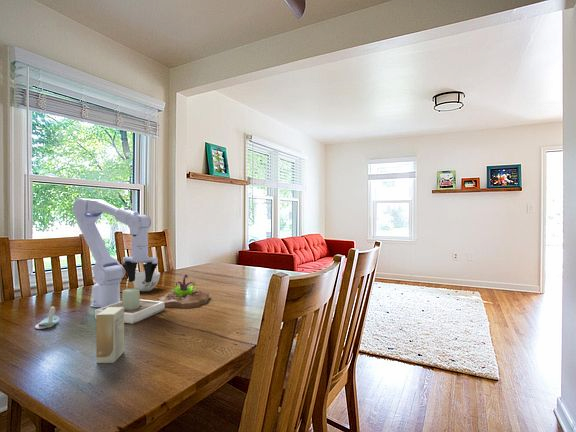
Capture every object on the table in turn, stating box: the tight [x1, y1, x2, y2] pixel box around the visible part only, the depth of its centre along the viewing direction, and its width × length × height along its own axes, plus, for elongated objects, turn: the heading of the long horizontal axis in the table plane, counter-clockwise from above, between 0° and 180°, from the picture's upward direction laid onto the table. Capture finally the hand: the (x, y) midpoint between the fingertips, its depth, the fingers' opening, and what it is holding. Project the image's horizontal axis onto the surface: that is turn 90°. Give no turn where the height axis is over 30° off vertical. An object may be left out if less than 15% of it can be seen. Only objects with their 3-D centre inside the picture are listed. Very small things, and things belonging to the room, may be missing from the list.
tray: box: [94, 298, 165, 324], centre depth 116 cm, size 16×16×3 cm
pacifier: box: [34, 306, 60, 330], centre depth 103 cm, size 7×6×6 cm
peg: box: [121, 287, 141, 310], centre depth 116 cm, size 4×4×8 cm
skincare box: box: [95, 307, 125, 364], centre depth 81 cm, size 6×4×12 cm
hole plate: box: [113, 302, 156, 313], centre depth 116 cm, size 14×14×2 cm
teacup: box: [132, 270, 161, 292], centre depth 153 cm, size 15×12×8 cm
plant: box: [156, 274, 210, 309], centre depth 134 cm, size 20×20×11 cm
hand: (140, 281), depth 122 cm, fingers open, 7 cm apart
